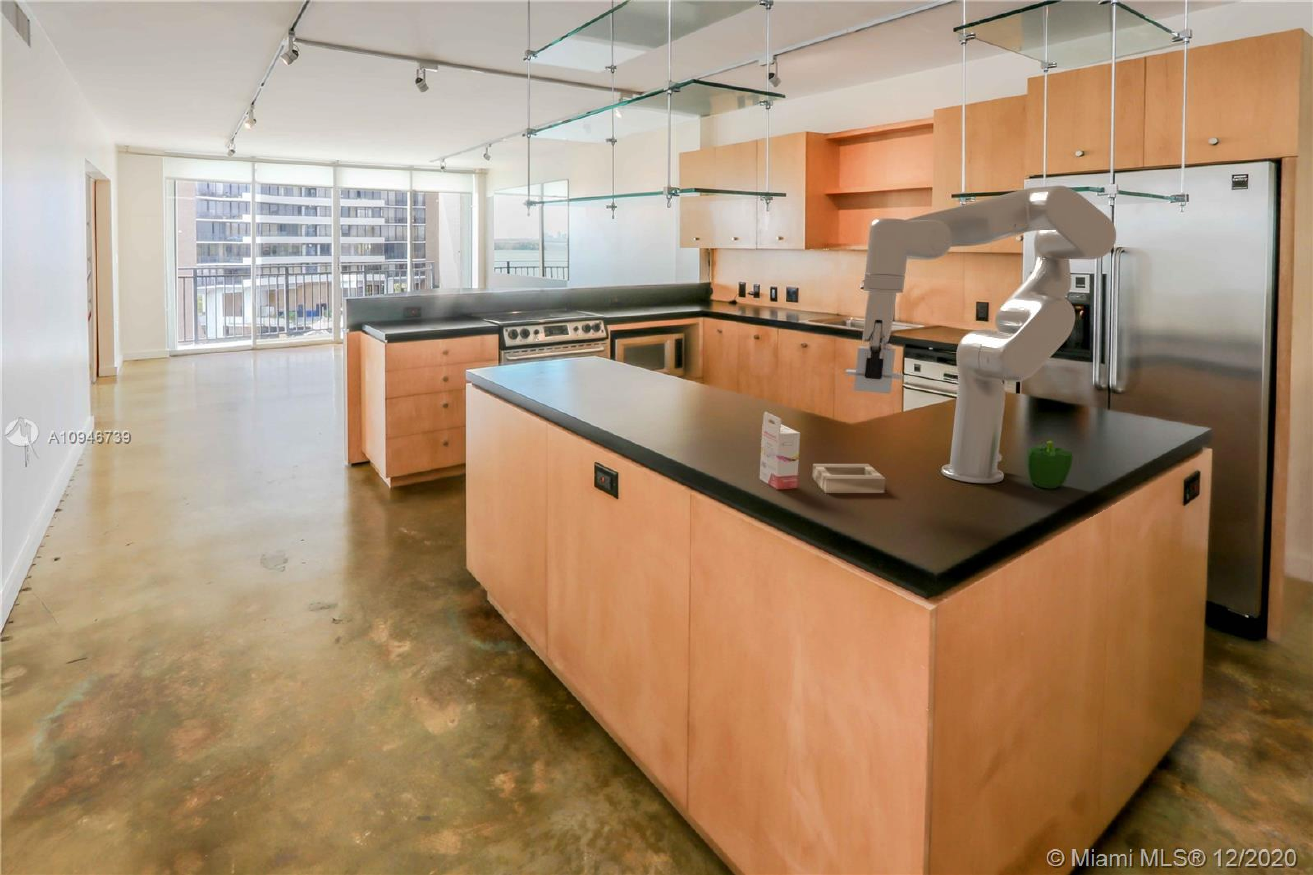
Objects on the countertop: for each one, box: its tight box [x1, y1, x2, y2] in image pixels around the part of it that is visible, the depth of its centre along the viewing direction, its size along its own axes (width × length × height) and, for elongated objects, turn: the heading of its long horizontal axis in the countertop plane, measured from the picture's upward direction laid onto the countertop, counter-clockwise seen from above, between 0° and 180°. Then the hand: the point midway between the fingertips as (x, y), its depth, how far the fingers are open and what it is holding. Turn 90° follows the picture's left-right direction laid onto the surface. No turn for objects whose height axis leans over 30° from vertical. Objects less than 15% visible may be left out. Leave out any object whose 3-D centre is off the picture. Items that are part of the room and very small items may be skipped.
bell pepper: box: [1026, 440, 1074, 489], centre depth 164 cm, size 8×8×10 cm
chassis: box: [811, 463, 886, 494], centre depth 163 cm, size 11×12×3 cm
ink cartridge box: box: [759, 411, 801, 490], centre depth 162 cm, size 9×5×15 cm, turn 18°
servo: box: [845, 343, 904, 395], centre depth 157 cm, size 4×11×10 cm, turn 71°
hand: (873, 376), depth 157 cm, fingers closed on servo, 4 cm apart
